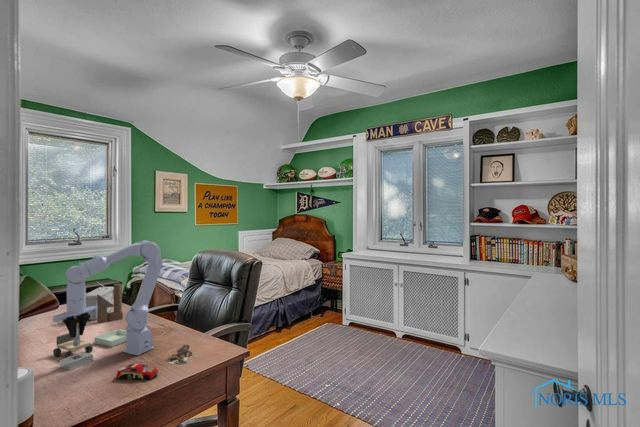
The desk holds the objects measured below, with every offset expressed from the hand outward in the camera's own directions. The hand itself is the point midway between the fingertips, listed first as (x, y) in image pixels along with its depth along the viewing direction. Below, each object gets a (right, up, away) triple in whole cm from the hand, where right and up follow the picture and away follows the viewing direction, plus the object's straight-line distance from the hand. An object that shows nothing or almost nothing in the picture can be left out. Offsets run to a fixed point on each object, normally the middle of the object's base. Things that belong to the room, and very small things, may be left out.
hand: (76, 335), depth 127 cm
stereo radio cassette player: (-29, -10, +58) cm, 66 cm away
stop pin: (0, -3, 0) cm, 3 cm away
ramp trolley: (-8, -10, +9) cm, 16 cm away
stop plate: (0, -10, 0) cm, 10 cm away
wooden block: (-18, -10, +50) cm, 54 cm away
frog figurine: (+36, -11, +6) cm, 38 cm away
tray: (+1, -10, +23) cm, 25 cm away
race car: (+27, -11, -9) cm, 31 cm away
